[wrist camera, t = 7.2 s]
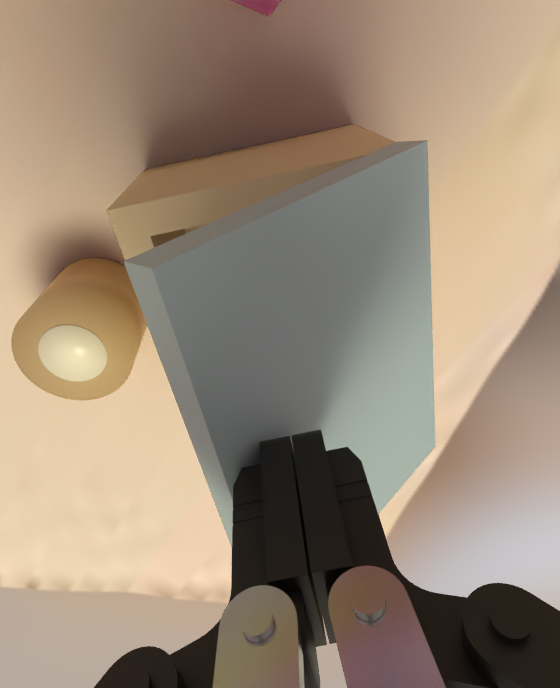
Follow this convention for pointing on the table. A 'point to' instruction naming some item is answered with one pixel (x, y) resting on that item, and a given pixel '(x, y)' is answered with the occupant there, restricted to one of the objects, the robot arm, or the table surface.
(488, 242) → the table surface
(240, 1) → the gum box
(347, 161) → the box
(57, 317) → the tan cylinder cream top
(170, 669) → the robot arm
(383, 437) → the lid
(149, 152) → the table surface
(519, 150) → the table surface
